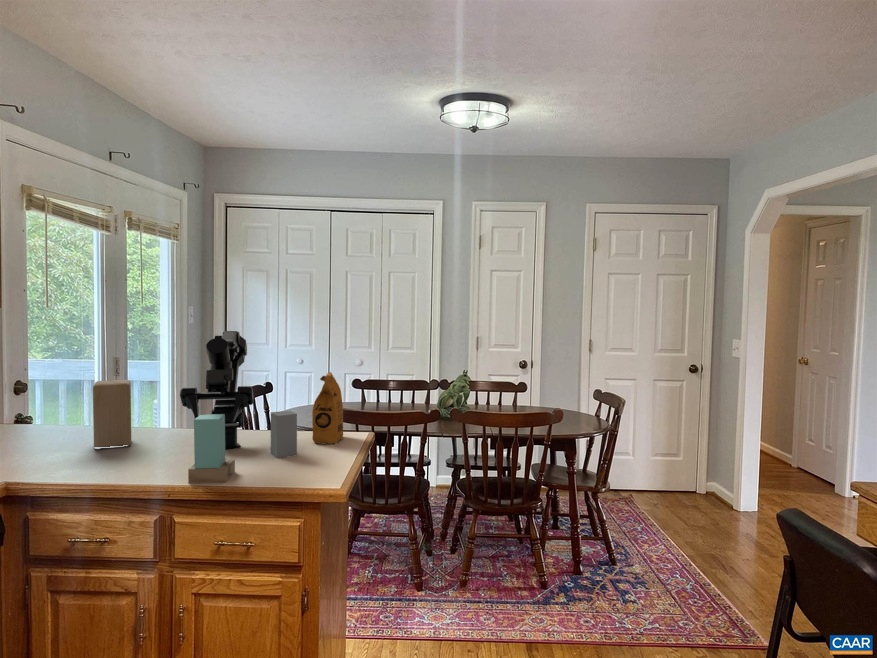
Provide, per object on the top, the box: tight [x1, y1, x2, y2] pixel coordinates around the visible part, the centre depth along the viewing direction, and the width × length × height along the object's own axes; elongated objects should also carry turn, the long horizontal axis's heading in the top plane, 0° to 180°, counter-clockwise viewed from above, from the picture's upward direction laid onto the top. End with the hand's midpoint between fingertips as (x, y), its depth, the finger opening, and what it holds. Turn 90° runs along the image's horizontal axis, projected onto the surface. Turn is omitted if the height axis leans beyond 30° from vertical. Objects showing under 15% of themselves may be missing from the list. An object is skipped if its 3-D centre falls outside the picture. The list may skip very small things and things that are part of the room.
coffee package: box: [311, 371, 344, 445], centre depth 189 cm, size 10×12×22 cm
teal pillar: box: [193, 413, 226, 469], centre depth 147 cm, size 6×6×12 cm
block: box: [92, 379, 132, 448], centre depth 180 cm, size 10×10×20 cm
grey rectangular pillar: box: [270, 410, 298, 459], centre depth 172 cm, size 6×6×12 cm
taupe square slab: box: [187, 458, 236, 484], centre depth 149 cm, size 9×9×4 cm
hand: (214, 422), depth 155 cm, fingers open, 9 cm apart
